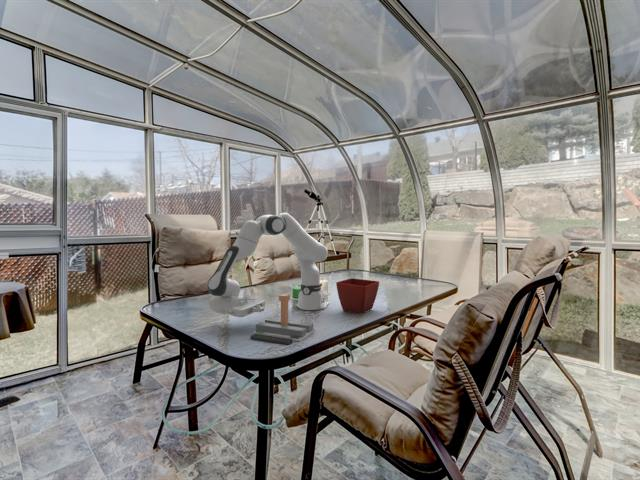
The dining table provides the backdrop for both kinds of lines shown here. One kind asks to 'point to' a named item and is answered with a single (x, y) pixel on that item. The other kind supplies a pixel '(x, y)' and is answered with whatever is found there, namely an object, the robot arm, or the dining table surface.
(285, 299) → the breaker handle
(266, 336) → the twin grey rods
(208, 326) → the dining table surface
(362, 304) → the plant pot
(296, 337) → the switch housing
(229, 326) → the dining table surface
